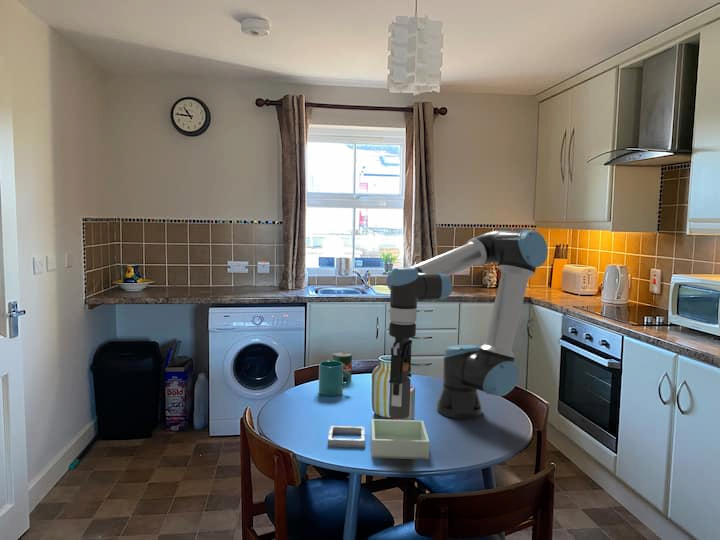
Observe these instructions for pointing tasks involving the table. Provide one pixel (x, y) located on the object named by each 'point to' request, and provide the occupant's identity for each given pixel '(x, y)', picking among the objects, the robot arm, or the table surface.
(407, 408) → the bottle
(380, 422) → the bin
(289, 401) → the table surface
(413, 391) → the supplement box
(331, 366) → the cup
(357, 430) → the collar
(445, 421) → the table surface
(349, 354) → the canned tomato
